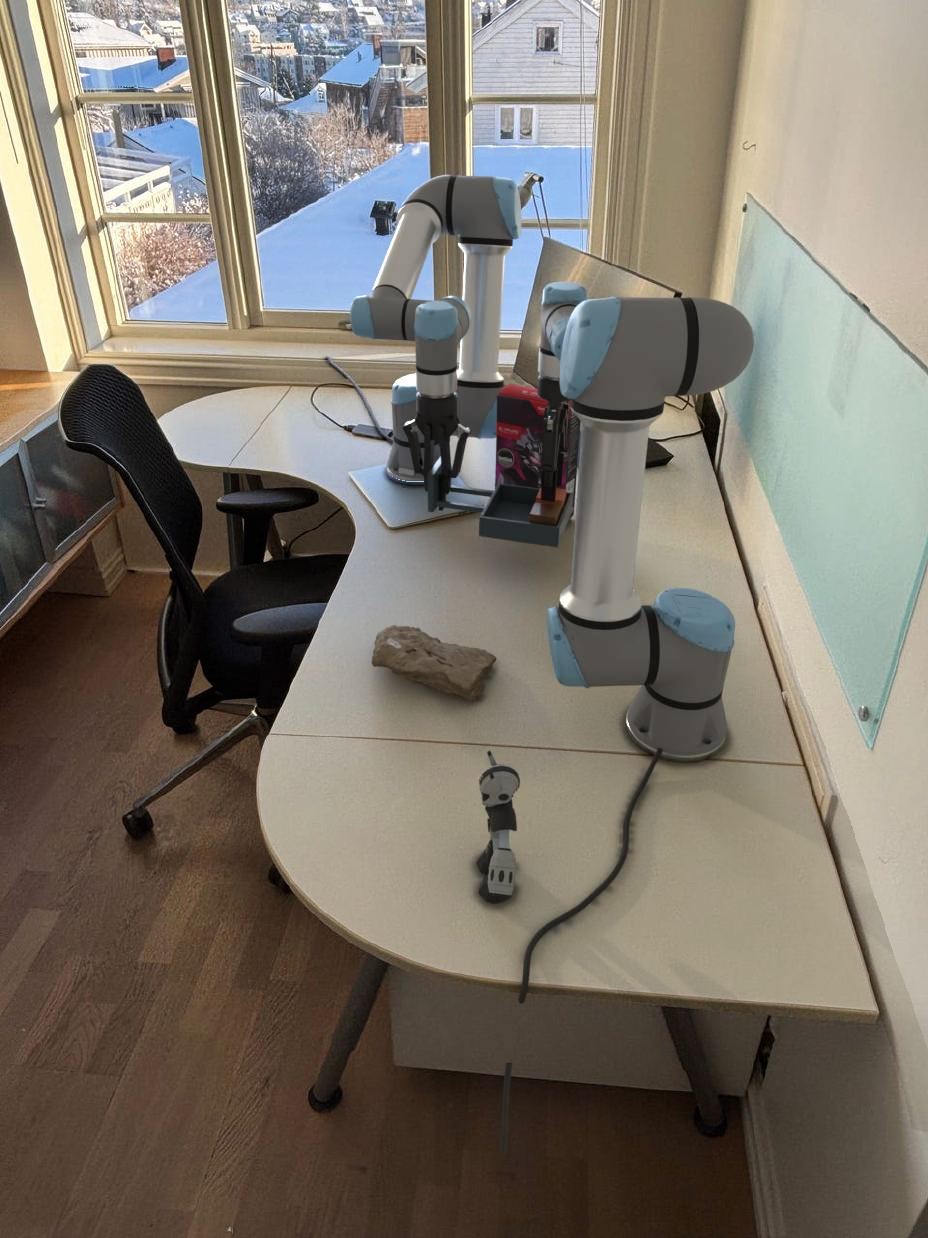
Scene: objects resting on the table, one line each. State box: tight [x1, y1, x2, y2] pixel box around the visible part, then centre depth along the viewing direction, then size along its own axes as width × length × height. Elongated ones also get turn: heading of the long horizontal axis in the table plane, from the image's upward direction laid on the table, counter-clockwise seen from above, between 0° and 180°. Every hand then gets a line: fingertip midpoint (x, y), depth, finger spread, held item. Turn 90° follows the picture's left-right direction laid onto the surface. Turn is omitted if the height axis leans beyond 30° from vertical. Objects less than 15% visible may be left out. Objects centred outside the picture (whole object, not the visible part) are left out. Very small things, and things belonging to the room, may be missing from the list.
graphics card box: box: [494, 383, 582, 520], centre depth 195 cm, size 17×7×27 cm, turn 62°
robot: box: [475, 750, 521, 904], centre depth 113 cm, size 20×5×20 cm, turn 3°
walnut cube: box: [529, 502, 561, 526], centre depth 173 cm, size 5×5×5 cm
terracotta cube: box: [536, 488, 567, 518], centre depth 178 cm, size 5×5×5 cm
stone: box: [371, 624, 498, 702], centre depth 153 cm, size 21×15×6 cm
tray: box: [427, 456, 574, 548], centre depth 177 cm, size 26×15×10 cm, turn 75°
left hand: (437, 506), depth 182 cm, fingers closed on tray
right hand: (551, 492), depth 176 cm, fingers open, 6 cm apart
